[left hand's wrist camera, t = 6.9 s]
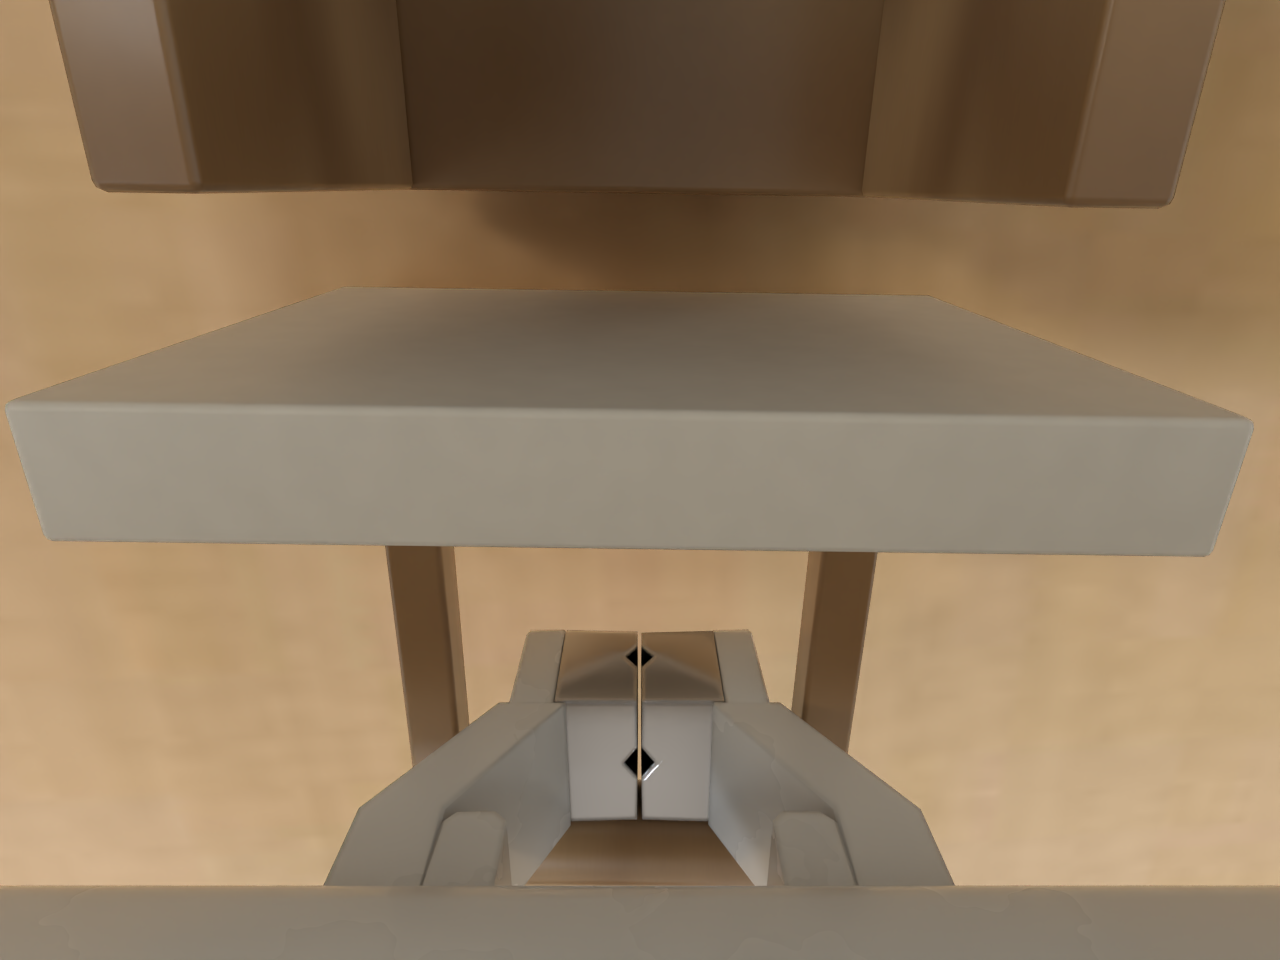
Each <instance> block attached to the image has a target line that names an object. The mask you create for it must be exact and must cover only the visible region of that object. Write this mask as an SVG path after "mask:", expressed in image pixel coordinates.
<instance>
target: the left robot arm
mask: <svg viewBox="0 0 1280 960" xmlns="http://www.w3.org/2000/svg"><path fill="white" fill-rule="evenodd" d="M641 776H642V820H678V821H708V825H709V826H710V828H711V829H712V830H713V831H714V833H715V834H716V835H717V837H718V838H719V839H720V841H721V842H722V843H723V845H724V846H725V847H726V849H727V850H728V851H729V852H730V854H731V855H732V856H733V858H734V859H735V860H736V862H737V863H738V864H739V866H740V867H741V868H742V870H743V871H744V872H745V873H746V875H747V876H748V877H749V879H750V880H751V881H752V883H753V884H754V885H755V886H525V884H526V883H527V882H528V880H529V879H530V878H531V876H532V875H533V874H534V873H535V871H536V870H537V869H538V867H539V866H540V865H541V863H542V862H543V861H544V860H545V858H546V857H547V856H548V854H549V853H550V852H551V850H552V849H553V848H554V846H555V845H556V844H557V843H558V841H559V840H560V839H561V837H562V836H563V835H564V833H565V832H566V831H567V830H568V828H569V827H570V826H571V821H600V820H634V819H637V777H638V632H633V631H584V630H567V632H566V631H565V630H531V631H530V632H529V633H528V634H527V636H526V639H525V643H524V647H523V651H522V655H521V659H520V663H519V667H518V671H517V675H516V679H515V682H514V686H513V690H512V694H511V698H510V702H509V703H498V704H496V705H495V706H494V707H492V708H491V709H490V710H488V711H487V712H486V713H484V714H483V715H482V716H480V717H479V718H478V719H477V720H475V721H474V722H473V723H471V724H470V725H469V726H467V727H466V728H465V729H463V730H462V731H461V732H459V733H458V734H457V735H455V736H454V737H453V738H451V739H450V740H449V741H447V742H446V743H445V744H443V745H442V746H441V747H439V748H438V749H437V750H435V751H434V752H433V753H431V754H430V755H429V756H427V757H426V758H425V759H423V760H422V761H421V762H419V763H418V764H417V765H415V766H414V767H413V768H412V769H410V770H409V771H408V772H406V773H405V774H404V775H402V776H401V777H400V778H398V779H397V780H396V781H394V782H393V783H392V784H390V785H389V786H388V787H386V788H385V789H384V790H382V791H381V792H380V793H378V794H377V795H376V796H374V797H373V798H372V799H370V800H369V801H368V802H366V803H365V804H364V805H362V806H361V807H360V808H359V809H358V811H357V814H356V816H355V818H354V820H353V822H352V824H351V827H350V829H349V831H348V833H347V835H346V838H345V840H344V842H343V844H342V846H341V848H340V851H339V853H338V855H337V857H336V859H335V861H334V864H333V866H332V868H331V870H330V872H329V875H328V877H327V879H326V881H325V883H324V885H323V886H0V960H1280V886H955V885H954V882H953V880H952V878H951V876H950V874H949V871H948V869H947V867H946V865H945V862H944V860H943V858H942V856H941V854H940V851H939V849H938V847H937V845H936V842H935V840H934V838H933V836H932V834H931V831H930V829H929V827H928V825H927V822H926V820H925V818H924V816H923V814H922V811H921V809H920V808H918V807H917V806H916V805H914V804H913V803H912V802H910V801H909V800H908V799H906V798H905V797H904V796H902V795H901V794H900V793H898V792H897V791H896V790H894V789H893V788H892V787H891V786H889V785H888V784H887V783H885V782H884V781H883V780H881V779H880V778H879V777H877V776H876V775H875V774H873V773H872V772H871V771H869V770H868V769H867V768H866V767H864V766H863V765H862V764H860V763H859V762H858V761H856V760H855V759H854V758H852V757H851V756H850V755H848V754H847V753H846V752H844V751H843V750H842V749H840V748H839V747H838V746H837V745H835V744H834V743H833V742H831V741H830V740H829V739H827V738H826V737H825V736H823V735H822V734H821V733H819V732H818V731H817V730H815V729H814V728H813V727H811V726H810V725H809V724H808V723H806V722H805V721H804V720H802V719H801V718H800V717H798V716H797V715H796V714H794V713H793V712H792V711H790V710H789V709H788V708H786V707H785V706H784V705H783V704H781V703H769V699H768V695H767V691H766V687H765V683H764V679H763V675H762V671H761V668H760V664H759V660H758V656H757V652H756V648H755V644H754V640H753V636H752V633H751V632H750V631H749V630H748V629H746V630H719V631H693V632H653V633H642V640H641Z"/></svg>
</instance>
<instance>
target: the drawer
mask: <svg viewBox="0 0 1280 960" xmlns="http://www.w3.org/2000/svg"><path fill="white" fill-rule="evenodd" d="M49 3H50V7H51V11H52V16H53V20H54V24H55V28H56V32H57V36H58V41H59V45H60V49H61V53H62V57H63V61H64V66H65V70H66V74H67V78H68V82H69V87H70V91H71V95H72V99H73V103H74V107H75V112H76V116H77V120H78V124H79V128H80V132H81V137H82V141H83V145H84V149H85V153H86V158H87V162H88V166H89V170H90V174H91V178H92V181H93V183H94V184H95V186H96V187H97V188H100V189H102V190H104V191H107V192H135V193H248V192H302V191H356V190H407V189H412V190H475V191H539V192H603V193H667V194H730V195H794V196H858V197H881V198H901V199H920V200H940V201H960V202H979V203H999V204H1018V205H1038V206H1058V207H1093V208H1157V209H1158V208H1161V207H1163V206H1166V205H1168V204H1170V203H1171V201H1172V199H1173V198H1174V195H1175V191H1176V187H1177V183H1178V179H1179V176H1180V172H1181V168H1182V164H1183V160H1184V157H1185V153H1186V149H1187V145H1188V141H1189V137H1190V134H1191V130H1192V126H1193V122H1194V118H1195V115H1196V111H1197V107H1198V103H1199V99H1200V95H1201V92H1202V88H1203V84H1204V80H1205V76H1206V73H1207V69H1208V65H1209V61H1210V57H1211V53H1212V50H1213V46H1214V42H1215V38H1216V34H1217V31H1218V27H1219V23H1220V19H1221V15H1222V12H1223V8H1224V4H1225V0H49ZM5 413H6V416H7V419H8V422H9V425H10V429H11V432H12V435H13V438H14V441H15V445H16V448H17V451H18V454H19V457H20V461H21V464H22V467H23V470H24V473H25V477H26V480H27V483H28V486H29V489H30V492H31V496H32V499H33V502H34V505H35V508H36V512H37V515H38V518H39V521H40V524H41V528H42V531H43V534H44V536H45V537H46V538H47V539H49V540H51V541H95V542H169V543H242V544H315V545H385V548H386V556H387V564H388V572H389V580H390V588H391V596H392V604H393V612H394V620H395V628H396V636H397V644H398V652H399V660H400V668H401V676H402V684H403V692H404V700H405V708H406V716H407V724H408V732H409V740H410V748H411V756H412V764H413V767H414V766H415V765H417V764H418V763H419V762H421V761H422V760H423V759H425V758H426V757H427V756H429V755H430V754H431V753H433V752H434V751H435V750H437V749H438V748H439V747H441V746H442V745H443V744H445V743H446V742H447V741H449V740H450V739H451V738H453V737H454V736H455V735H457V734H458V733H459V732H461V731H462V730H463V729H465V728H466V727H467V726H469V716H468V704H467V693H466V681H465V670H464V658H463V647H462V635H461V624H460V612H459V601H458V589H457V578H456V566H455V555H454V546H461V547H534V548H608V549H681V550H754V551H809V557H808V566H807V575H806V584H805V593H804V602H803V611H802V620H801V629H800V638H799V647H798V656H797V665H796V674H795V683H794V692H793V701H792V710H791V711H792V712H793V713H794V714H796V715H797V716H798V717H800V718H801V719H802V720H804V721H805V722H806V723H808V724H809V725H810V726H811V727H813V728H814V729H815V730H817V731H818V732H819V733H821V734H822V735H823V736H825V737H826V738H827V739H829V740H830V741H831V742H833V743H834V744H835V745H837V746H838V747H839V748H840V749H842V750H843V751H844V752H846V753H847V754H848V747H849V740H850V734H851V727H852V720H853V714H854V707H855V700H856V693H857V687H858V680H859V673H860V667H861V660H862V653H863V646H864V640H865V633H866V626H867V619H868V613H869V606H870V599H871V593H872V586H873V579H874V572H875V566H876V559H877V552H900V553H974V554H1047V555H1120V556H1193V557H1204V556H1208V555H1210V553H1211V552H1212V551H1213V549H1214V546H1215V543H1216V540H1217V537H1218V534H1219V531H1220V528H1221V525H1222V522H1223V519H1224V516H1225V513H1226V510H1227V507H1228V504H1229V501H1230V498H1231V495H1232V492H1233V489H1234V486H1235V483H1236V480H1237V477H1238V474H1239V471H1240V468H1241V465H1242V462H1243V459H1244V456H1245V453H1246V450H1247V447H1248V444H1249V442H1250V439H1251V436H1252V433H1253V430H1254V426H1253V422H1252V421H1251V420H1250V419H1248V418H1246V417H1244V416H1241V415H1239V414H1236V413H1233V412H1231V411H1228V410H1226V409H1223V408H1220V407H1218V406H1215V405H1212V404H1210V403H1207V402H1205V401H1202V400H1199V399H1197V398H1194V397H1192V396H1189V395H1186V394H1184V393H1181V392H1179V391H1176V390H1173V389H1171V388H1168V387H1166V386H1163V385H1160V384H1158V383H1155V382H1153V381H1150V380H1147V379H1145V378H1142V377H1140V376H1137V375H1134V374H1132V373H1129V372H1126V371H1124V370H1121V369H1119V368H1116V367H1113V366H1111V365H1108V364H1106V363H1103V362H1100V361H1098V360H1095V359H1093V358H1090V357H1087V356H1085V355H1082V354H1080V353H1077V352H1074V351H1072V350H1069V349H1067V348H1064V347H1061V346H1059V345H1056V344H1054V343H1051V342H1048V341H1046V340H1043V339H1040V338H1038V337H1035V336H1033V335H1030V334H1027V333H1025V332H1022V331H1020V330H1017V329H1014V328H1012V327H1009V326H1007V325H1004V324H1001V323H999V322H996V321H994V320H991V319H988V318H986V317H983V316H981V315H978V314H975V313H973V312H970V311H967V310H965V309H962V308H960V307H957V306H954V305H952V304H949V303H947V302H944V301H941V300H939V299H936V298H934V297H931V296H923V295H857V294H791V293H725V292H659V291H593V290H527V289H461V288H395V287H341V288H338V289H336V290H333V291H330V292H327V293H324V294H321V295H318V296H315V297H312V298H309V299H306V300H303V301H300V302H297V303H295V304H292V305H289V306H286V307H283V308H280V309H277V310H274V311H271V312H268V313H265V314H262V315H259V316H256V317H253V318H251V319H248V320H245V321H242V322H239V323H236V324H233V325H230V326H227V327H224V328H221V329H218V330H215V331H212V332H210V333H207V334H204V335H201V336H198V337H195V338H192V339H189V340H186V341H183V342H180V343H177V344H174V345H171V346H169V347H166V348H163V349H160V350H157V351H154V352H151V353H148V354H145V355H142V356H139V357H136V358H133V359H130V360H127V361H125V362H122V363H119V364H116V365H113V366H110V367H107V368H104V369H101V370H98V371H95V372H92V373H89V374H86V375H84V376H81V377H78V378H75V379H72V380H69V381H66V382H63V383H60V384H57V385H54V386H51V387H48V388H45V389H43V390H40V391H37V392H34V393H31V394H28V395H25V396H22V397H19V398H16V399H14V400H11V401H9V402H8V403H7V404H6V406H5ZM525 886H755V885H754V884H753V883H752V881H751V880H750V879H749V877H748V876H747V875H746V873H745V872H744V871H743V870H742V868H741V867H740V866H739V864H738V863H737V862H736V860H735V859H734V858H733V856H732V855H731V854H730V852H729V851H728V850H727V849H726V847H725V846H724V845H723V843H722V842H721V841H720V839H719V838H718V837H717V835H716V834H715V833H714V831H713V830H712V829H711V828H710V826H709V825H708V821H678V820H642V780H637V819H634V820H600V821H571V826H570V827H569V828H568V830H567V831H566V832H565V833H564V835H563V836H562V837H561V839H560V840H559V841H558V843H557V844H556V845H555V846H554V848H553V849H552V850H551V852H550V853H549V854H548V856H547V857H546V858H545V860H544V861H543V862H542V863H541V865H540V866H539V867H538V869H537V870H536V871H535V873H534V874H533V875H532V876H531V878H530V879H529V880H528V882H527V883H526V884H525Z"/></svg>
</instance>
